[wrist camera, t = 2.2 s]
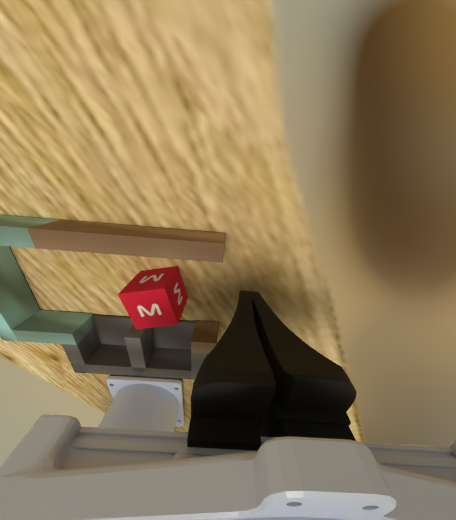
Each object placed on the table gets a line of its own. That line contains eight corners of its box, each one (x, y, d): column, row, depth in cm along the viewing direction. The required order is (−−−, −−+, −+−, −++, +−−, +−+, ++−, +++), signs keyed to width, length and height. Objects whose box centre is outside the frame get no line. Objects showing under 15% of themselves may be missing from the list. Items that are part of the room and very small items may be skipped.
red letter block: (178, 265, 13) (164, 288, 10) (187, 297, 14) (178, 324, 12) (140, 270, 13) (117, 294, 11) (153, 301, 15) (136, 329, 12)
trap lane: (215, 357, 17) (214, 380, 15) (46, 346, 17) (22, 369, 15) (225, 232, 12) (224, 243, 10) (-26, 212, 11) (-81, 219, 9)
